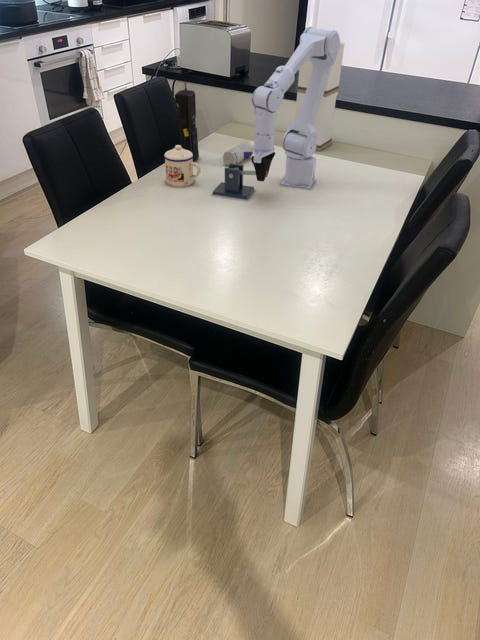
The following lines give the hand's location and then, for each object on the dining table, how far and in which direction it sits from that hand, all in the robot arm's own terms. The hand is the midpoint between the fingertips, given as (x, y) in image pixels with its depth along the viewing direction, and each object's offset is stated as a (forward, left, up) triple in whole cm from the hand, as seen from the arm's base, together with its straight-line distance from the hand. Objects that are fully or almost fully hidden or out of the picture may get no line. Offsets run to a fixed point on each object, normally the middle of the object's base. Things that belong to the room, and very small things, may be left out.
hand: (262, 178), depth 153 cm
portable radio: (+32, -21, -6) cm, 39 cm away
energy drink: (+17, -21, -3) cm, 27 cm away
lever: (+4, 0, 0) cm, 4 cm away
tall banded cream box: (-6, -55, -6) cm, 56 cm away
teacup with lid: (+26, -2, -6) cm, 27 cm away
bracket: (+9, 0, -6) cm, 11 cm away
